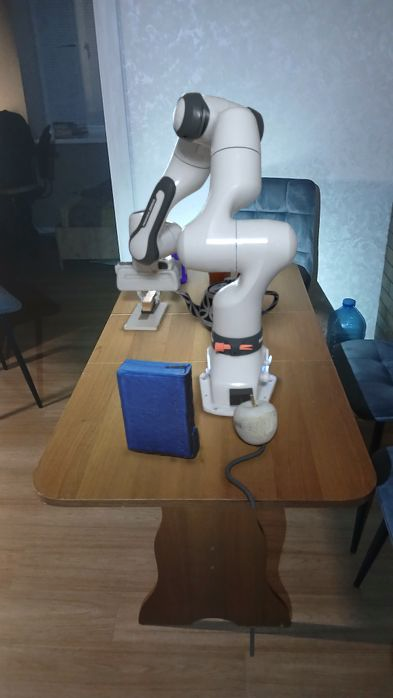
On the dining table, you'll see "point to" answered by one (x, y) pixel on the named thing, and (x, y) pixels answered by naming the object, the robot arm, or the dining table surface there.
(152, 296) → the brush
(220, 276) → the mug
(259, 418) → the decorative object
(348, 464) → the dining table surface
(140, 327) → the tile
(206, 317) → the teapot
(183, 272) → the bottle
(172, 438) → the book
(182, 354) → the dining table surface
